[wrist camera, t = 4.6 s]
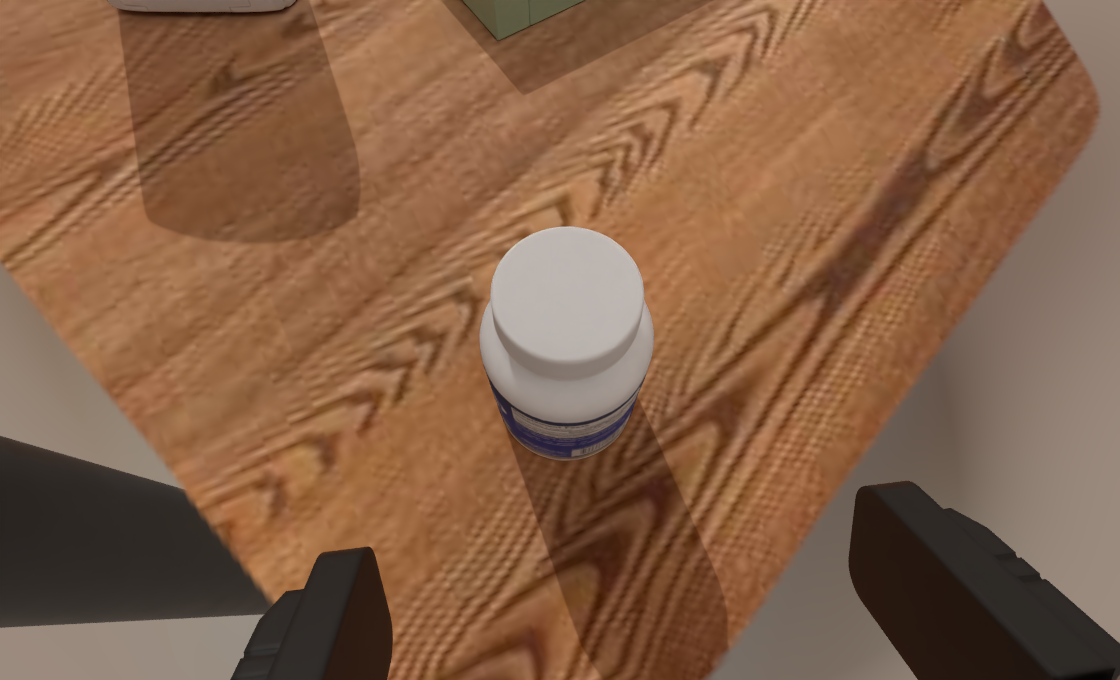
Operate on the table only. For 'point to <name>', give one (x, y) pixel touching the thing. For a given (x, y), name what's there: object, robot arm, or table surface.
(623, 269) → the pill bottle
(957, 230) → the table surface
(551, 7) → the socket base
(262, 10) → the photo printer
